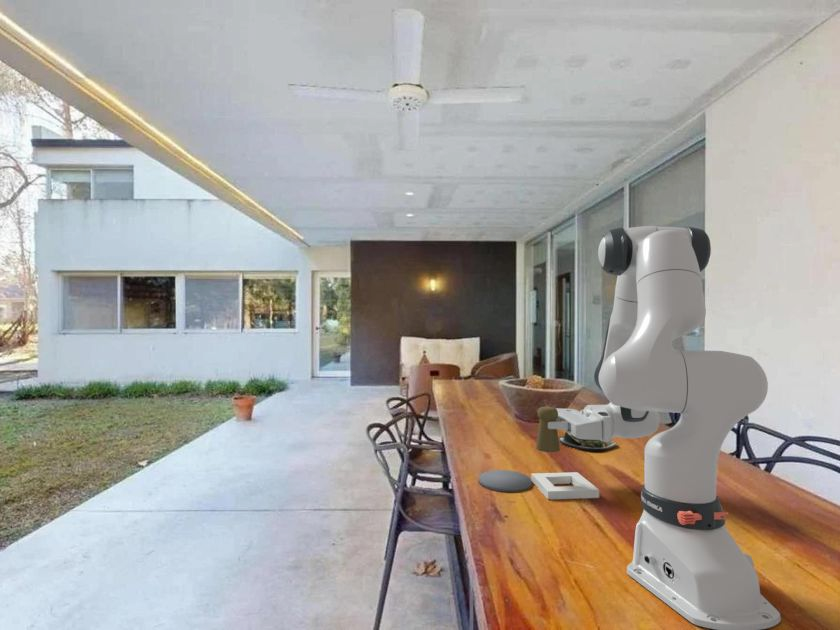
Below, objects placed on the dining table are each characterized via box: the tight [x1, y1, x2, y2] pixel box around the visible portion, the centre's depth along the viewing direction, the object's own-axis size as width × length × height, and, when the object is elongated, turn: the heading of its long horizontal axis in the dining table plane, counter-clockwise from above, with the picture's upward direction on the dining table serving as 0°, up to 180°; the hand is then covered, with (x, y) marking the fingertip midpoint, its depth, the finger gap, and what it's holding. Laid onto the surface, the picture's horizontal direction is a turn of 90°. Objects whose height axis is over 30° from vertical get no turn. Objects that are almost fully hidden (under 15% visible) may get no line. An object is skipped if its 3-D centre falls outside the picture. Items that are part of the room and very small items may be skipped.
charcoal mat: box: [478, 469, 532, 493], centre depth 126 cm, size 14×14×1 cm
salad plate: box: [558, 431, 617, 453], centre depth 164 cm, size 19×18×5 cm
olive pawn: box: [535, 406, 561, 453], centre depth 122 cm, size 6×6×11 cm
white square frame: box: [530, 471, 600, 500], centre depth 121 cm, size 13×13×2 cm
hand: (544, 422), depth 122 cm, fingers closed on olive pawn, 4 cm apart
